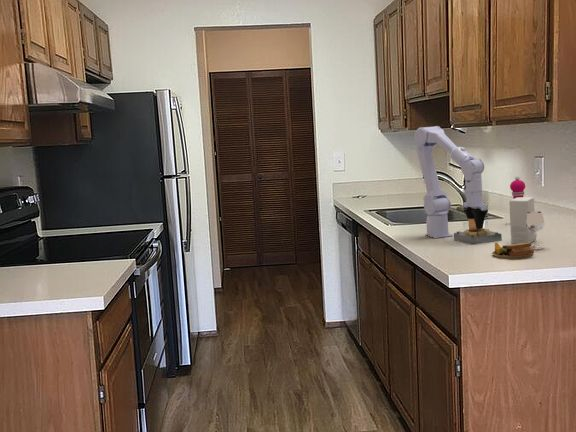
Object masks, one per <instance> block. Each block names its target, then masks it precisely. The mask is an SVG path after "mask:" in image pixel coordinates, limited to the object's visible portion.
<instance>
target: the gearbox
mask: <svg viewBox="0 0 576 432" xmlns="http://www.w3.org/2000/svg"><path fill="white" fill-rule="evenodd" d="M481 230H482V231H478V232H471V231H469V228H468V229H466V230H464V231H459V230H458V231H456V232H453V240H454V239H455V241H459V242H461V243H465V244H469V245H476V244H485V243H491V242H494V243H495V242H499V241H500V242H501V241H502V240H503V239H502V237H503V236H502V233H500V232H498V231H492V230H490V229H489V228H484V227H483V228H481Z"/></svg>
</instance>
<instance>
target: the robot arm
mask: <svg viewBox="0 0 576 432" xmlns="http://www.w3.org/2000/svg"><path fill="white" fill-rule="evenodd" d="M413 138H414V141H415V145H416V154H417V157H418V162H419V165H420V170H421V173H422V177H423V182H424V185H425V188H426V193H425V194H424V196H423V209H424V212H425V213H426V214H427V217H426V220H425V221H426V222H425V223H426V233H425V234H424V235H425V236H426V235H428V236H427V237H429V236H430V237H429V238H432V237H433V239H436V238H437V239H438V238H447V237H454V234H452V233H449V222H448V214H449V211H450V210H451V208H452V202H451V200H450V198H449V197H448V194H447V192H446V191H445V190H444V189H442V188H441V185H440V181H439V176H438V173H437V170H436V165H435V161H434V158H433V154H432V151H433V149H434V148H435V147H436V146H437V145H439V146H440V147H441V148H442V149H444V150H445V151H446V152H448V153H449V154H450V160H452V161H453V162H454V163H456V165H458V167H460V170H461V173H462V174H463V179H464V180H465V191H466V193H465V194H466V202H464V201H463V208H464V209H463V212H464V214H465V216H466V218H467V220H468V219H469V218H475V223H476V228H477V229H481V228H484V223H485V219H486V216H487V214H488V212H489V210H488V204H486V203H484V199H483V183H482V180H483V179H482V173H484V170H485V164H484V162H483V161H482V159H481V158H475V157H474V156H473V154H472V155H471V154H470V153H469V152H468V151H467V150H466V148H465V147H464V146H463V147H462V146H457V145H456V144H455V143H454V142H453V141H452V140H451V139H450V137H448V136H447V134H445V130H444V129H442V128H441V127H440V126H439V125H435V126H425V127H423V126H422V127H421V126H420V127H418V128H417V129H416V131H415V134H414V135H413Z"/></svg>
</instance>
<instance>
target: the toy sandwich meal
mask: <svg viewBox="0 0 576 432" xmlns="http://www.w3.org/2000/svg"><path fill="white" fill-rule="evenodd" d="M530 247H532V242H531V243H519V244H506V245H505V244H504V245H502V246H501V245H500V244H499V243H498V242H494V251H492V252H491V254H492V255H493V256H494V257H495V258H500V259H507V260H508V259H513V260H514V259H523V258H528V257H531V256H532V255H533V254H534V253H535V249H531V248H530Z"/></svg>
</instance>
